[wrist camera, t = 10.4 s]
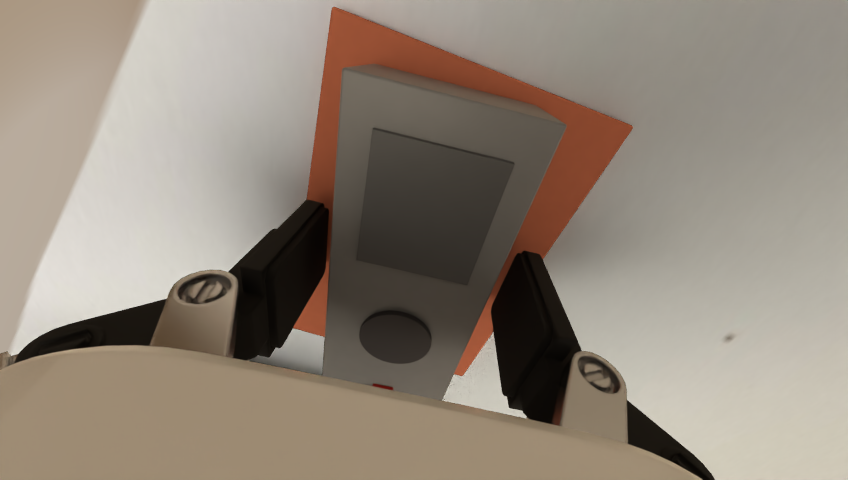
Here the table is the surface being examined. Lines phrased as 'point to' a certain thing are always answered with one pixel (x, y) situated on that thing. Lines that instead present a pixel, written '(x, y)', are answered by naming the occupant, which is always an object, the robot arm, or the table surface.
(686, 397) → the table surface
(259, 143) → the table surface
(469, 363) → the mat
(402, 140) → the remote
